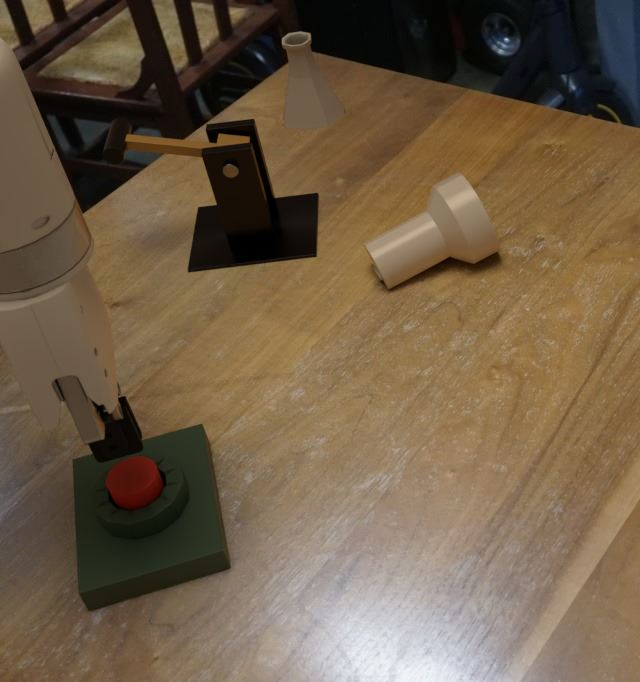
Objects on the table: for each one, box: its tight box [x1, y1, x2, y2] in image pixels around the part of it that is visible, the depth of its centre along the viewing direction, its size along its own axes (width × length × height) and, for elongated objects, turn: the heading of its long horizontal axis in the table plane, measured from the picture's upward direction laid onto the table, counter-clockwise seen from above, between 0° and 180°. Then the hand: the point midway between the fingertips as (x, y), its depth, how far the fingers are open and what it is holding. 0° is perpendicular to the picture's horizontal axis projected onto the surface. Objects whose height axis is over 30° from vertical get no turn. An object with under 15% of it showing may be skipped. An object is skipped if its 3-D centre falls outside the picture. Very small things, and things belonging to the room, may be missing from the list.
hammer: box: [101, 117, 250, 166], centre depth 99 cm, size 12×5×2 cm, turn 96°
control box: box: [72, 423, 232, 612], centre depth 81 cm, size 13×10×4 cm
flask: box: [281, 30, 345, 132], centre depth 119 cm, size 7×7×10 cm
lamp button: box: [106, 456, 163, 510], centre depth 79 cm, size 4×4×2 cm
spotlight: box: [362, 172, 501, 290], centre depth 100 cm, size 8×11×8 cm
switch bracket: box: [187, 118, 320, 273], centre depth 103 cm, size 12×10×12 cm
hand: (120, 449), depth 76 cm, fingers closed
